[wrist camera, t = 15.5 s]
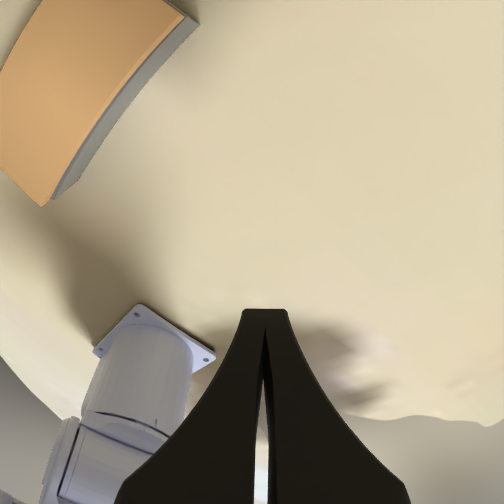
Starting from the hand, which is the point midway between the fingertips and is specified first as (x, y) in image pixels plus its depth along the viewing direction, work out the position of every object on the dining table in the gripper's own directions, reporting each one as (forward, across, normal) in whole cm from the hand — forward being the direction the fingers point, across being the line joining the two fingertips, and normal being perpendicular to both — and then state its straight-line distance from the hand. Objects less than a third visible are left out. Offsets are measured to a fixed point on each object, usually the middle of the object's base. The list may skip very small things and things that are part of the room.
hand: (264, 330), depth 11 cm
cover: (+7, +10, -9) cm, 15 cm away
